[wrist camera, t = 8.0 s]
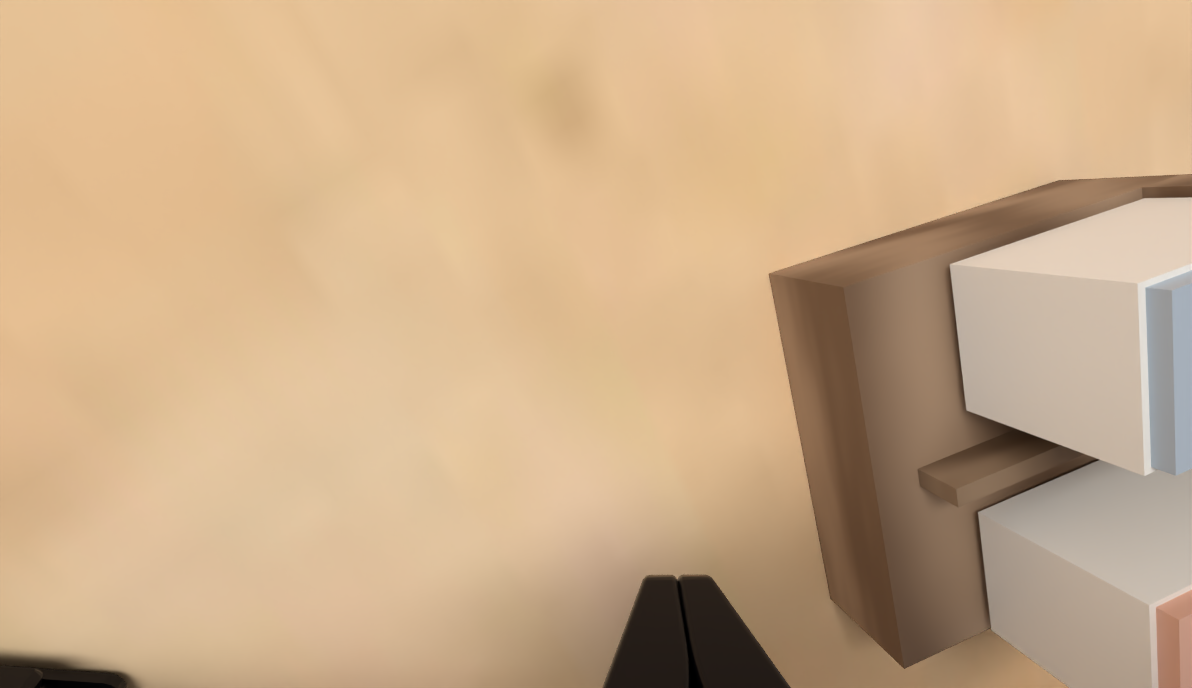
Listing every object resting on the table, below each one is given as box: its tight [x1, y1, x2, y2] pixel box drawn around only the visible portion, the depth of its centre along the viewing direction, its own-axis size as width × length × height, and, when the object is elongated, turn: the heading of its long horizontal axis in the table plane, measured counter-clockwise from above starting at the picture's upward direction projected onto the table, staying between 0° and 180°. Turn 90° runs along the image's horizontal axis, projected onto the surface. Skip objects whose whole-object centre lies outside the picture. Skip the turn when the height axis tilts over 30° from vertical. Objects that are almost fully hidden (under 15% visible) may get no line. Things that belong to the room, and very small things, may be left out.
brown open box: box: [769, 174, 1192, 669], centre depth 20 cm, size 12×13×10 cm
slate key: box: [950, 197, 1192, 476], centre depth 17 cm, size 7×4×6 cm, turn 106°
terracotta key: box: [978, 460, 1192, 688], centre depth 19 cm, size 7×4×6 cm, turn 106°
